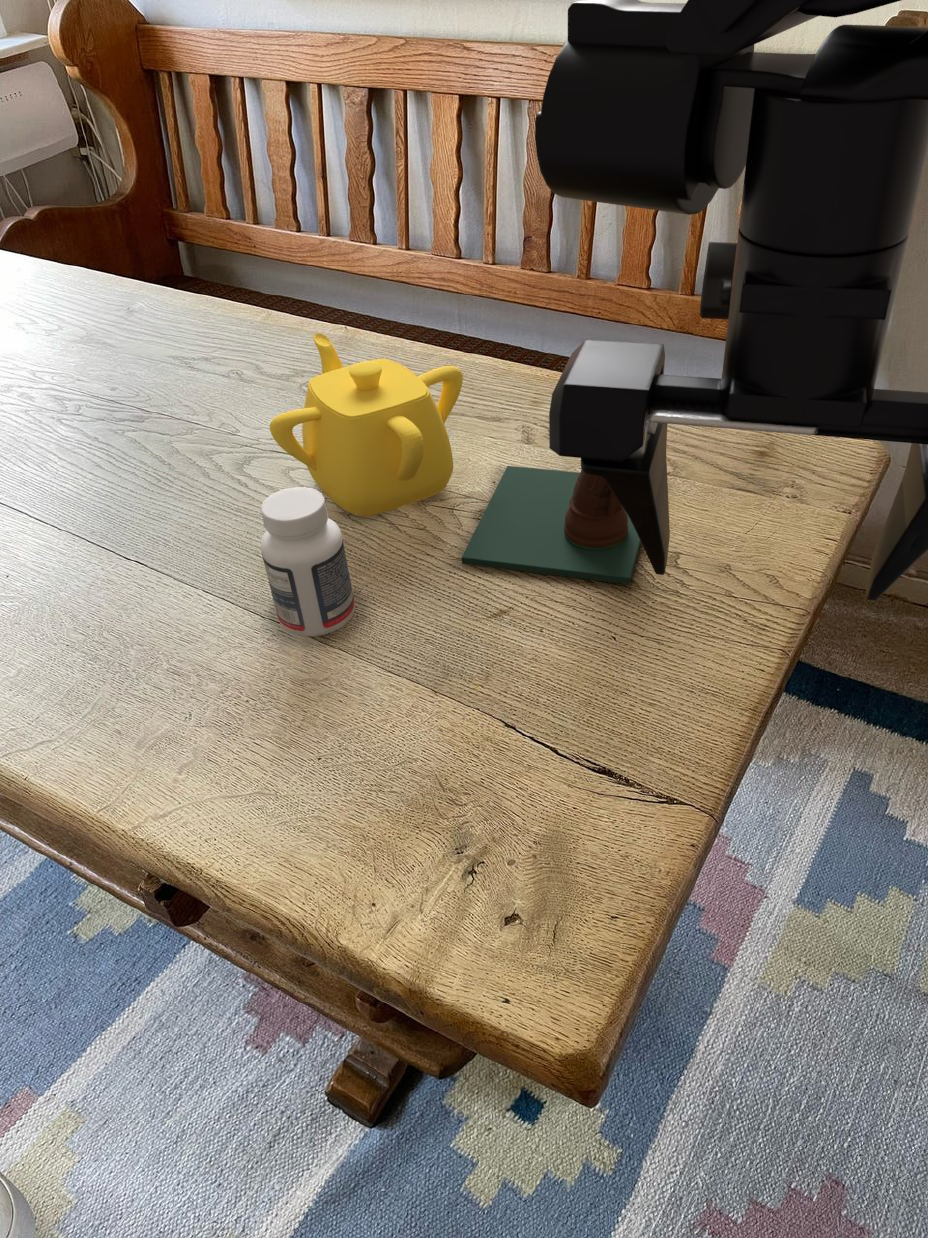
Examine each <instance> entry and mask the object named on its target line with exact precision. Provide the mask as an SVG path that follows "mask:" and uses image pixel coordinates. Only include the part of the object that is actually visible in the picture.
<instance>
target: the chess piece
mask: <svg viewBox="0 0 928 1238" xmlns="http://www.w3.org/2000/svg"><path fill="white" fill-rule="evenodd" d="M579 473H580V474H579V476H578V478H577V481H576V484H575V487H574V491H573V495H572V497H571V499H570V501H569V508H568V510H567V512H566V515H565V523H564V533H565V536H566V537H567V539H568V540H569V541H570V542H571V543H573V544H574V545H576V546H579V547H582V548H586V549H594V550H599V549H607V548H611V547H614V546H616V545H618V544H620V543H621V542H622V541H623V540H624V539H625V538H626V536H627V534H628V517H627V513H626V511H625V510H624V508H623V507H622V505H621V504H620V502H619V501H618V499H617V498H616V496H615V495H614V493H613V492H612V490H611V489H610V487H609V486H608V484H607V483H606V481H605V480H604V479H603V478H602V477H600V476H595V475H589V474H586V473H584V472H583V471H582V469H581V470H580V472H579Z"/></svg>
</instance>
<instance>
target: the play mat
mask: <svg viewBox="0 0 928 1238" xmlns="http://www.w3.org/2000/svg"><path fill="white" fill-rule="evenodd" d="M579 474H580V472H577V471H576V472H575V471H567V470H557V469H546V468H534V467H523V466H513V465H507V466H506V468H505V470H504V472H503V474H502V476H501V477H500V479H499V482H498V484H497V485H496V488H495V489H494V492H493V494H492V496H491V498H490V499H489V502H488V503H487V506H486V508H485V510H484V512H483V513H482V515H481V518H480V520H479V521H478V523H477V526H476V527H475V529H474V532H473V533H472V535H471V537H470V540H469V541H468V543H467V546H466V548H465V549H464V551H463V554H462V555H461V557H460V558H461V564H462V565H468V566H474V567H475V566H476V567H485V568H491V569H493V568H494V569H501V570H508V571H517V572H525V573H533V574H542V575H549V576H555V577H564V578H565V577H566V578H574V579H581V580H588V581H597V582H605V583H613V584H621V585H630V584H631V581H632V578H633V574H634V571H635V566H636V562H637V560H638V556H639V552H640V548H641V545H642V543H641V541H640V539H639V536H638V534H637V532H636V530H635V528H634V526H633V524H632V522H631V520H630V518H629V516H628V515H627V517H628V534H627V536H626V538H625V539H624V540H623V541H622V542H621V543H620V544H618V545H616V546H614V547H611V548H607V549H599V550H594V549H586V548H582V547H579V546H576V545H574V544H573V543H571V542H570V541H569V540H568V539H567V537H566V536H565V533H564V523H565V515H566V512H567V510H568V508H569V501H570V499H571V497H572V495H573V491H574V487H575V484H576V481H577V478H578V476H579Z"/></svg>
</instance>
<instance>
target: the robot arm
mask: <svg viewBox="0 0 928 1238" xmlns="http://www.w3.org/2000/svg"><path fill="white" fill-rule="evenodd" d="M901 1H902V0H687V1H686V3H685V2H648V1H641V0H577V1H575V2H572V3H571V4H570V5H569V6H568V8H567V41H566V42H565V43H564V45H563V46H562V48H561V50H560V51H559V52H558V54H557V56H556V58H555V60H554V62H553V65H552V67H551V69H550V72H549V74H548V76H547V81H546V84H545V88H544V92H543V95H542V101H541V109H540V111H539V112H537V114H536V116H535V121H534V123H535V124H534V141H535V152H536V159H537V162H538V167H539V171H540V174H541V176H542V179H543V180H544V183H545V185H546V187H548V189H550V191H551V192H552V193H553V194H554V195H557V196H559V197H561V198H566V199H571V200H580V201H586V202H593V203H602V204H609V205H615V206H622V207H623V206H624V207H630V208H639V209H645V210H653V211H659V212H667V213H674V214H679V215H687V216H690V215H697V214H699V213H701V212H702V211H704V210H705V209H706V207H707V206H708V205H709V204H710V203H711V202H712V200H713V199H714V197H715V195H716V194H717V192H718V191H719V189H723V190H726V189H727V190H728V189H729V188H731V187H733V186H734V185H735V184H736V183H737V181H738V180H739V179H740V177H741V176H742V174H743V172H744V178H743V186H742V195H741V204H740V213H739V223H738V230H737V240H736V242H729V241H728V242H726V241H725V242H724V241H708V244H707V250H706V251H707V252H706V258H705V265H704V271H703V279H702V287H701V298H700V305H699V317H700V318H701V319H706V320H724V321H725V320H727V328H726V336H725V344H724V355H723V363H722V371H721V378H719V377H718V378H717V377H703V376H689V375H673V374H665V366H666V365H665V362H666V351H665V344H663V343H649V342H648V343H647V342H631V341H615V340H597V339H584V341H582V343H581V344H580V345H579V346H578V347H577V348H576V349H574V351H572V352H571V354H570V356H569V357H568V360H567V362H566V364H565V366H564V369H563V370H562V373H561V375H560V376H559V379H558V381H557V383H556V385H555V387H554V389H553V391H552V393H551V399H550V405H549V413H548V425H549V426H548V428H549V429H548V430H549V431H548V433H549V435H548V437H549V439H548V440H549V442H548V443H549V444H548V445H549V447H548V448H549V450H551V451H552V452H554V453H555V454H556V455H558V456H559V457H566V458H578V459H580V469H581V470H582V471H583V472H584V473H586V474H589V475H595V476H600V477H602V478H603V479H604V480H605V481H606V483H607V484H608V486H609V487H610V489H611V490H612V492H613V493H614V495H615V496H616V498H617V499H618V501H619V502H620V504H621V505H622V507H623V508H624V510H625V511H626V513H627V515H628V516H629V518H630V520H631V522H632V524H633V526H634V528H635V530H636V532H637V534H638V536H639V539H640V541H641V545H642V547H643V549H644V552H645V554H646V556H647V558H648V560H649V562H650V565H651V567H652V569H653V571H654V573H655V575H659V576H664V575H665V574H666V569H667V566H668V557H669V548H670V540H671V539H670V537H671V531H670V530H671V528H670V507H669V506H670V505H669V486H668V485H669V484H668V463H667V461H668V459H667V445H668V442H667V441H668V425H679V426H692V427H706V428H717V429H731V430H742V431H743V430H744V431H754V432H766V433H767V432H768V433H780V434H793V435H804V436H818V437H828V438H830V437H831V438H842V439H854V440H855V439H856V440H869V441H879V442H881V441H882V442H890V443H891V442H893V443H904V444H905V443H907V444H910V448H909V452H908V455H907V460H906V465H905V468H904V472H903V476H902V478H901V481H900V484H899V486H898V489H897V491H896V494H895V497H894V498H893V499H894V500H893V502H892V505H891V507H890V510H889V512H888V515H887V518H886V521H885V523H884V526H883V528H882V531H881V533H880V536H879V539H878V542H877V544H876V547H875V549H874V552H873V554H872V558H871V561H870V566H869V570H868V575H867V579H866V585H865V594H866V595H865V598H866V600H868V601H877V600H879V598H880V597H881V596H883V594H884V593H886V591H888V590H889V589H890V588H891V586H893V584H895V583H896V582H897V580H899V579H900V578H901V577H902V576H903V575H904V574H905V573H906V572H907V570H909V569H910V568H911V566H913V564H915V563H916V562H917V561H918V560H919V559H920V558H921V557H922V556H923V555H924V554H925V553H927V551H928V391H912V390H900V389H899V390H898V389H881V388H875V387H876V382H877V378H878V373H879V370H880V365H881V360H882V356H883V351H884V347H885V342H886V337H887V333H888V328H889V324H890V319H891V315H892V311H893V306H894V301H895V297H896V293H897V288H898V284H899V278H900V275H901V271H902V266H903V261H904V257H905V252H906V247H907V244H908V240H909V239H908V238H909V233H910V229H911V225H912V221H913V217H914V212H915V207H916V203H917V199H918V195H919V189H920V186H921V180H922V175H923V172H924V167H925V163H926V158H927V153H928V26H907V25H906V26H905V25H873V24H841V25H837V27H835V28H833V29H832V31H830V32H829V34H828V35H827V36H826V37H825V39H824V40H823V41H822V43H821V44H820V46H819V48H818V49H817V51H816V53H785V52H784V53H782V52H781V53H780V52H760V51H759V52H758V51H757V52H756V51H755V45H756V44H759V43H761V42H763V41H765V40H768V39H770V38H772V37H774V36H777V35H778V34H782V33H784V32H786V31H788V30H790V29H792V28H795V27H797V26H799V25H801V24H804V23H806V22H809V21H810V20H813V19H815V18H818V17H824V18H825V17H828V18H835V19H836V18H841V17H846V16H851V15H855V14H860V13H862V12H865V11H869V10H873V9H877V8H880V7H883V6H887V5H889V4H890V5H892V4H894V3H897V2H901Z"/></svg>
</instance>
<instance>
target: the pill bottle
mask: <svg viewBox="0 0 928 1238" xmlns="http://www.w3.org/2000/svg"><path fill="white" fill-rule="evenodd" d="M325 499H326V498H325V497H324V495H323V493H321V492H320V491H319V490H317V489H315V488H312V487H304V486H296V487H295V486H294V487H288V488H285V489H280V490H279V491H276V492H273V493H272V494H270V495H269V496H268V497H266V498H265V499H264V501H263V502H262V504H261V505H260V511H261V517H262V522H263V527H264V528H265V532H264V534H263V535H262V537H261V540H260V551H261V552H260V553H261V558H262V560H263V564H264V568H265V572H266V576H267V581H268V584H269V589H270V592H271V597H272V600H273V604H274V609H275V612H276V616H277V620H278V623H279V624H280V626H281V627H282V628H283V629H284V630H285V631H286V632H288V633H290V634H293V635H295V636H300V637H309V638H310V637H319V636H324V635H329V634H331V633H333V632H336V631H338V630H339V629H342V628H343V627H344V626H345V625H347V623H349V621H350V620H351V619H352V618H353V616H354V613H355V609H356V602H355V595H354V591H353V586H352V580H351V575H350V569H349V564H348V558H347V554H346V547H345V544H344V543H345V541H344V537H343V533H342V530H341V529H340V527H339V525H338V524H337V523H336V522H335V521H334V520H333V519H331V518H329V514H328V509H327V504H326V500H325Z"/></svg>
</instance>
